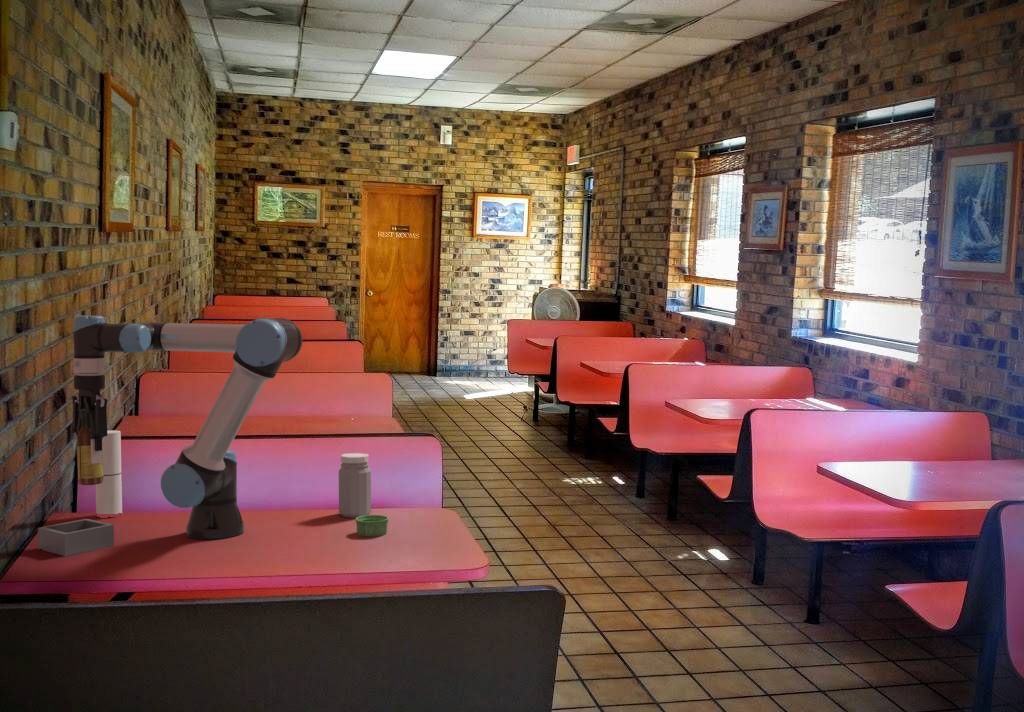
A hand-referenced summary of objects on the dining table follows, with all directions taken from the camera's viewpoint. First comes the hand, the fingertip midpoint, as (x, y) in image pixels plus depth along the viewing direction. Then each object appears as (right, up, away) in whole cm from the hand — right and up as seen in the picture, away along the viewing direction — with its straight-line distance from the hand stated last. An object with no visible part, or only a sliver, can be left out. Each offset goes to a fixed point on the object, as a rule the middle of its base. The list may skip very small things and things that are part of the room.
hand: (89, 461), depth 260 cm
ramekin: (+73, -21, +10) cm, 77 cm away
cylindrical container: (-8, -20, +33) cm, 39 cm away
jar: (+65, -20, +34) cm, 76 cm away
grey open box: (-1, -21, -6) cm, 22 cm away
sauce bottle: (0, -6, 0) cm, 6 cm away
